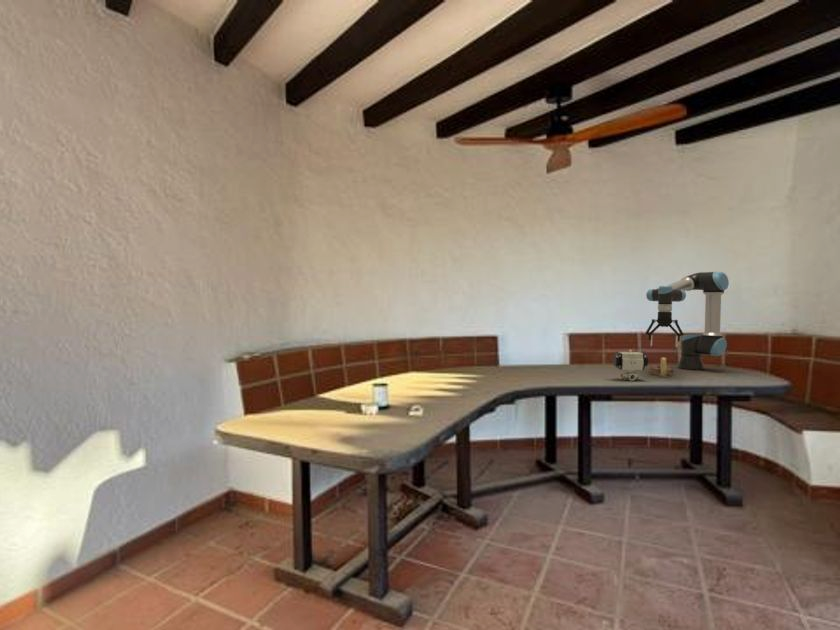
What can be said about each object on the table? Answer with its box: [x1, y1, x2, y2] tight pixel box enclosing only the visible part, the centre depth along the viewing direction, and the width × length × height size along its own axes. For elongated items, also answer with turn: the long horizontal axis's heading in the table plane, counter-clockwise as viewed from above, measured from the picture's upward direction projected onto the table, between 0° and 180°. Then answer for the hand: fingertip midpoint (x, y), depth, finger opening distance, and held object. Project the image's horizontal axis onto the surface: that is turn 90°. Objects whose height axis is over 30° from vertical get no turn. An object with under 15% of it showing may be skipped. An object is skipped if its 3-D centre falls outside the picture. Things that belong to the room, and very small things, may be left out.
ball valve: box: [612, 349, 649, 382], centre depth 281 cm, size 18×8×18 cm, turn 86°
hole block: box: [648, 364, 674, 377], centre depth 304 cm, size 12×16×4 cm
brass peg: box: [660, 357, 668, 379], centre depth 290 cm, size 3×3×12 cm
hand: (663, 346), depth 289 cm, fingers open, 13 cm apart
